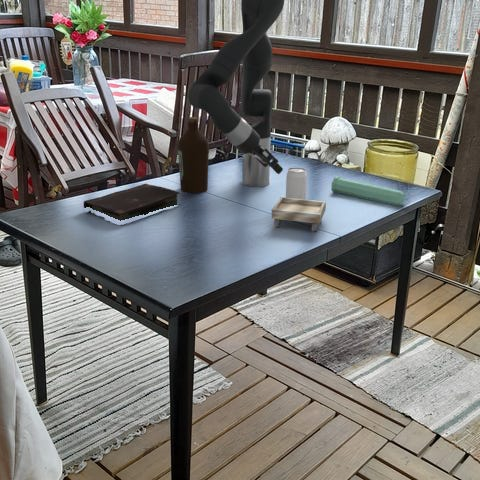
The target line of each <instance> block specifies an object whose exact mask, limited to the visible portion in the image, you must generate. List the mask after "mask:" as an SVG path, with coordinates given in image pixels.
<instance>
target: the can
mask: <svg viewBox="0 0 480 480" xmlns="http://www.w3.org/2000/svg"><path fill="white" fill-rule="evenodd" d="M306 171H307V170H306V169H305V168H303V167H295V166H294V167H290V168H289V167H288V169H287V172H286V179H285V180H286V181H285V183H286V184H285V198H294V199H305V200H307V197H306V196H307V184H308V183H307V182H308V180H307V179H308V174H307V172H306Z"/></svg>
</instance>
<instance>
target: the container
mask: <svg viewBox="0 0 480 480" xmlns="http://www.w3.org/2000/svg"><path fill="white" fill-rule="evenodd" d="M330 190H331V191H332V193H338V194H343V195H347V196H353V197H356V198H361V199H366V200H371V201H376V202H380V203H383V204H388V205H392V206H402V205H403V203H404V202H405V199H406V198H405V197H406V195H405V193H404V192H403V191H402V190H397V189H394V188H389V187H384V186H380V185H379V186H378V185H375V184H369V183H366V182H360V181H356V180H352V179H346V178H341V177H340V176H338V175H337V176H334V177H333V179H332V182H331V188H330Z"/></svg>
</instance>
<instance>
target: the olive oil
mask: <svg viewBox="0 0 480 480" xmlns="http://www.w3.org/2000/svg"><path fill="white" fill-rule="evenodd" d="M198 119H199V118H198V117H197V116H189V117H188V118H187V130H186V131H185V132H184V133H183V134H182V135H181V136H180V138H179V140H178V142H177V156H178V157H177V158H178V166H179V167H178V169H179V182H180V184H179V185H180V191H181V190H182V191H181V192H182V193H185V192H187V194H201V192H202V193H205V192H207V191H208V189H209V188H208V187H209V182H208V181H209V157H210V155H209V154H210V145H209V141H208V138H207V137H206V136H205V135H204V134H203V133H202V131H200V129H199V122H198Z"/></svg>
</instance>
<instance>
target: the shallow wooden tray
mask: <svg viewBox="0 0 480 480" xmlns="http://www.w3.org/2000/svg"><path fill="white" fill-rule="evenodd" d="M326 204H327V202H326V201H324V200H313V199H306V200H305V199H294V198H286V197H281V196H280V197H279V199H278V200H277V202H276V203H275V204H274V206H273V207H272V209H271V219H274V227H275V228H280V227H281V221H283V220H285V221H295V222H302V223H304V222H305V223H311V231H312V232H317V231H318V225H319V224H320V223H321V221H322V219H323V217H324V214H325V212H326V206H327V205H326ZM279 226H280V227H279ZM316 230H317V231H316Z"/></svg>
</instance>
